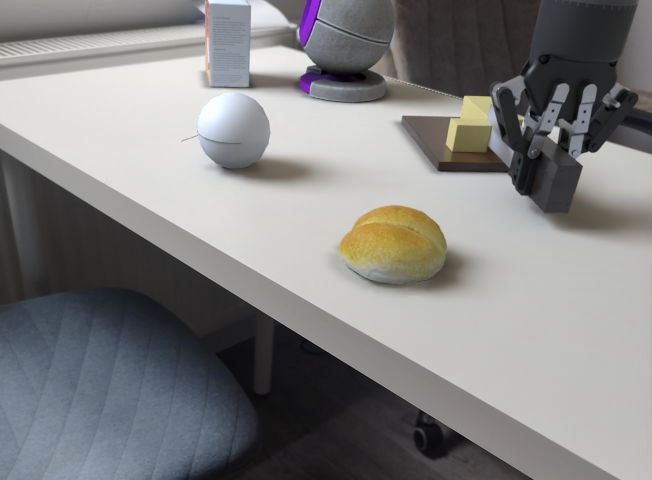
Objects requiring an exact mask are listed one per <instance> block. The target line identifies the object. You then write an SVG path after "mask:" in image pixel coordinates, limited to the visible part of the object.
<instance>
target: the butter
mask: <svg viewBox="0 0 652 480" xmlns="http://www.w3.org/2000/svg"><path fill="white" fill-rule="evenodd" d="M490 104H493V103H492V99H491V96H482V95H464V96H463V100H462V106H461V110H460V116H459V117H460V118H463V119H485V120H486V121H487V117H488V113H489V108H490ZM518 119H519V123H520V125H521V126H522V127H523V124H524V118H523V117H522V116H520V115H518Z"/></svg>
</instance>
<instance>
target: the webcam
mask: <svg viewBox="0 0 652 480" xmlns="http://www.w3.org/2000/svg"><path fill="white" fill-rule="evenodd" d="M300 19H301V20H300V23H299V28H298V37H299V42H300V45H301V47H302V49H303V50H304V52H305V54H306V56H307V57H308V58H309V60H310V61H311V62H312V63H313V64H314V65H308V66H307V67H306V69H305V73H304V74H302V75H301V76H300V77H299V88H300V89H301V90H302V91H303V92H305V93H307V94H308V95H309V97H311V98H316V99H320V100H325V101H326V100H327V101H334V102H342V103H343V102H344V103H345V102H348V103H354V102H355V103H359V102H369V101H374V100H378V99H380V98H382V97H383V96H385V94H386V89H387V81H386V79H385V77H384V76H383V75H382V74H380V73H378V72H376V71H373V70H371V68H372V67H374V66H375V65H376V64H377V63H378V62H380V61H381V59H382V58H383V57H384V55H385V54H386V52H387V51H388V49H389V47H390V45H391V44H392V40H393V37H394V34H395V33H394V32H395V26H396V25H395V24H396V23H395V22H396V17H395V11H394V5H393V2H392V0H306V1H305V4H304V8H303V11H302V15H301V18H300Z"/></svg>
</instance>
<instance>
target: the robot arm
mask: <svg viewBox="0 0 652 480" xmlns="http://www.w3.org/2000/svg"><path fill="white" fill-rule="evenodd" d="M639 3H640V0H540V5H539V9H538V14H537V18H536V22H535V25H534V30H533V35H532V39H531V42H530V52H529V56H528V59H527V61H526V62H525V64H524V65H523V66H522V68H521V70H520V72H519V75H517V76H515V77H513V78H511V79H509V80H507V81H504V82H501V81H499V80H495V81H493V82H491V84H490V86H489V88H488V89H489V95H490V97H491V99H492V103H493V107H494V111H495V115H496V119H497V123H498V127H499V131H500V135H501V139H502V141H503V142H504V143H505V144H506V145H507V146H509V147H510V148H511V149H512V150H513V151H517V152H518V155H517V159H516V163H515V167H514V171H513V175H512V178H511V184H512V185H513V187H514V189H515V191H516V192H517V193H518V194H519V195H520V196H521V197H529V195H530V193H531V189H532V186H533V182H534V178H535V174H536V171H537V167H538V163H539V159H538V158H537V157H538V156H539V155H540V153H541V150H542V147H543V145H544V142H545V140H546V137H547V136H549V135H551V133H552V131H553V129H554V127H555V125H556V121H558V126H559V131H558V137H557V143H556V144H558V145H559V146H560V147H561V148H562V149H563V150H565V151H566V152H567V153H568V154H569V155H571V156H572V157H573V158H574V159H575V160H577V159H578V158H579V157H580V156H581V155H583V154H586V153H588V152H589V153H591V154H595V153H597V152H599V150H600V149H601V148H602V147H603V146H604V144H605V143H606V142H607V141H608V139H609V138H610V137H611V136H612V134H613V133H614V132H615V130H616V129H617V128H618V127H619V125H620V124H621V123H622V122H623V120H624V119H626V117H627V116H628V114H629V113H630V112H631V111H632V109H633V108H634V107H635V105H636V104H637V103H638V101H639V94H638V93H637V92H634V91H633V90H632V89H630V88H628V87H626V86H624V85H622V84H621V83H619V82H618V70H617V69H618V68H617V65H618V61H619V60H620V59H621V58H622V56H623V54H624V51H625V48H626V45H627V42H628V38H629V35H630V31H631V29H632V25H633V22H634V19H635V15H636V13H637V9H638V6H639ZM522 92H524V95H525V97H526V99H527V101H528V107H527V109H526V111H525V115H524V117H523V125H524V126H523V131H522V132H521V128H520V123H519V119H518V116H519V115H518V110H517V106H518V105H520V103H521V99H522V98H521V96H522ZM601 101H602V103H601V105H600V106H599V107H598V109H597V110H596V111H595V113H594V114H593V115H592V110H593V109H594V108H595V107H596V106H597V105H598V104H599V103H600V102H601ZM591 115H592V116H591Z"/></svg>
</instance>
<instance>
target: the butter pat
mask: <svg viewBox="0 0 652 480" xmlns="http://www.w3.org/2000/svg"><path fill="white" fill-rule="evenodd" d="M491 128H492V125H491V124H489V123H488V122H487V121H486V120H485V119H463V118H451V119H450V125H449V130H448V135H447V141H446V145H447V146H448V148H449V149H450V150H451V151H452V152H486V151H487V146H488V142H489V137H490V133H491Z"/></svg>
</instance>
